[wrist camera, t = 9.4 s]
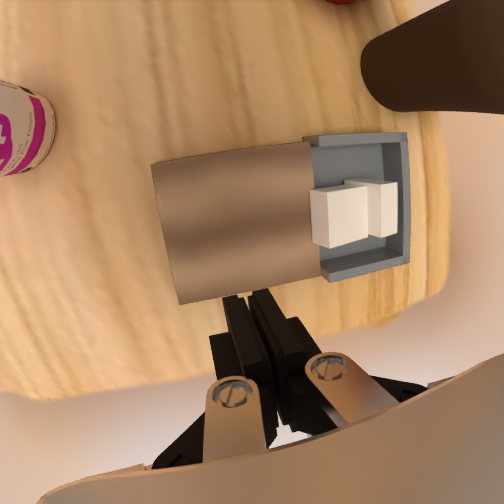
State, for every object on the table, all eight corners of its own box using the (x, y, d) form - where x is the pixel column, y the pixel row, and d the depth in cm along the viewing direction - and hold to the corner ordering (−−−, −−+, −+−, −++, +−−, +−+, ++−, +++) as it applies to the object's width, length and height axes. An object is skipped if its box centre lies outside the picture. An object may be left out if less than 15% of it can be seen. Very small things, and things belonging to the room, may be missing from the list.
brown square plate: (153, 163, 28) (150, 164, 25) (298, 142, 30) (309, 141, 28) (179, 291, 32) (179, 305, 30) (309, 265, 35) (320, 275, 32)
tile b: (380, 184, 27) (397, 182, 28) (344, 180, 31) (360, 177, 32) (381, 238, 29) (397, 232, 30) (345, 227, 33) (362, 223, 34)
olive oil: (341, 85, 29) (564, 37, 6) (371, 16, 27) (547, -57, 4) (413, 134, 33) (612, 155, 9) (435, 66, 31) (608, 50, 7)
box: (302, 137, 30) (318, 135, 27) (385, 132, 32) (406, 132, 28) (314, 269, 35) (329, 282, 31) (389, 251, 36) (409, 262, 33)
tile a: (309, 190, 29) (326, 192, 27) (348, 183, 31) (366, 186, 29) (312, 242, 30) (329, 248, 28) (350, 232, 32) (367, 237, 30)
